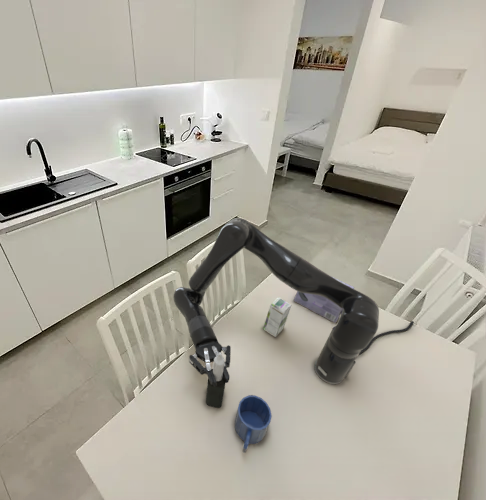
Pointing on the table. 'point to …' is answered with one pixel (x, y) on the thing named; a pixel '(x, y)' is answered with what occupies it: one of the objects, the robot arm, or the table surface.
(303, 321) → the table surface
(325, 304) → the cake pan box
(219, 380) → the candle
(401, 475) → the table surface
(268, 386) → the table surface
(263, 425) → the mug
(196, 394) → the table surface
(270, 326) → the syrup box
